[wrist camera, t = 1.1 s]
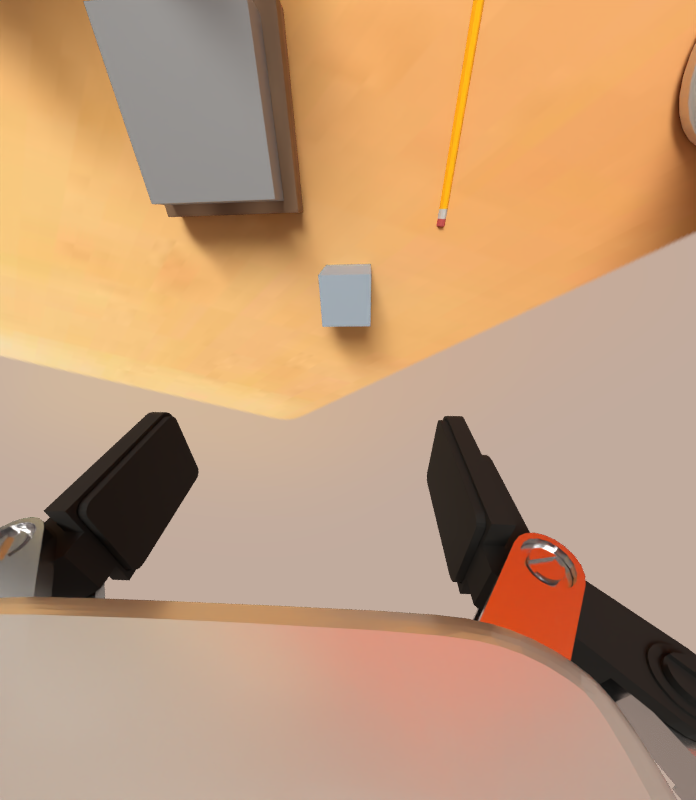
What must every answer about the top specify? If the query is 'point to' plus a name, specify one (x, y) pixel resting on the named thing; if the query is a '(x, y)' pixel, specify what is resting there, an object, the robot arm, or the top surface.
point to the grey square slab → (192, 96)
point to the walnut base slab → (283, 125)
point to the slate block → (345, 295)
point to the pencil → (460, 107)
